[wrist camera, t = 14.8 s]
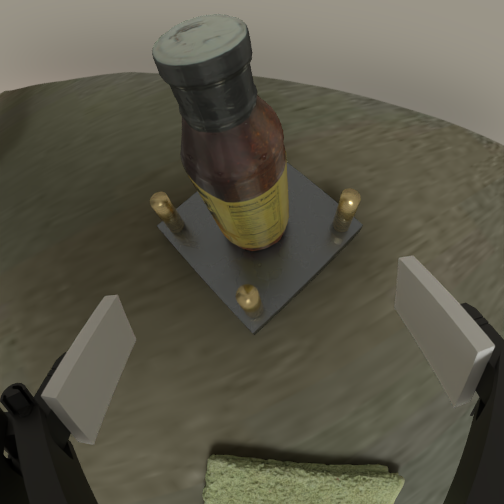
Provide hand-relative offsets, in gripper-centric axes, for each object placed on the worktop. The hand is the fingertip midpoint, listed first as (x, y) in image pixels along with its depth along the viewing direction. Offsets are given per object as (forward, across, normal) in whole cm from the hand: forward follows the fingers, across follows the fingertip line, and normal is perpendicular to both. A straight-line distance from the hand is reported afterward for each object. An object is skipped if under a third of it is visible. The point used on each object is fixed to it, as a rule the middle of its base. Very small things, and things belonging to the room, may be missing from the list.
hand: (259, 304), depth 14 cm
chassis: (+17, 0, -3) cm, 17 cm away
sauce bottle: (+16, 0, -2) cm, 16 cm away
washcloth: (-2, 0, -23) cm, 23 cm away
